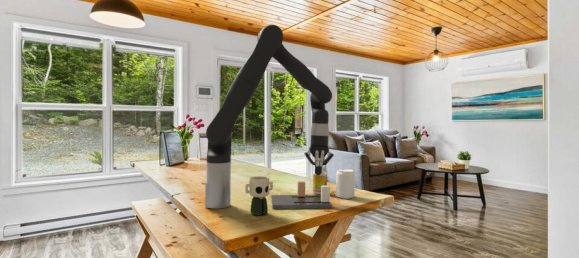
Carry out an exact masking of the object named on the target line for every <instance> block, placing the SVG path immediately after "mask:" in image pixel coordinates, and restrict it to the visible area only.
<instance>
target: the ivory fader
mask: <svg viewBox="0 0 579 258" xmlns="http://www.w3.org/2000/svg"><path fill="white" fill-rule="evenodd" d="M330 194H331V186H330V185H327V186H321V194H320V195H321V201H322V202H330V201H331V200H330V198H331V197H330V196H331V195H330ZM330 203H331V202H330Z"/></svg>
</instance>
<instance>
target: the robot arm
mask: <svg viewBox="0 0 579 258" xmlns="http://www.w3.org/2000/svg"><path fill="white" fill-rule="evenodd" d="M283 41H284V32H283V31H282V28H281V27H280V26H279V25H277V24H269V25H266V26H264V27H263V28H262V29H260V31H259V32H258V34H257V41H256V44H255V47H254V49H253V51H252V53H251V54H250V55H249V57H248V58H247V59H246V61H245V62H244V64H243V65H242V66H241V67H240V68H239V70H238V72H237V74H236V75H235V77H234V79H233V81H232V83H231V84H230V87H229V89H228V91H227V93H226V95H225V97H224V100H223V103H222V104H221V107H220V109H219V110H218V112H217V113H216V115H215V116H214V118H212V120H211V121H210V123H209V124H208V126H207V128H206V130H205V136H206V139H207V151H206V182H205V185H204V187H205V188H204V191H205V192H204V194H205V195H204V199H205V200H204V201H205V202H204V208H205V209H206V208H209V209H225V208H229V207H230V206H231V202H232V200H231V193H232V191H231V189H232V188H231V183H232V182H231V181H232V178H231V177H232V171H231V168H232V131H233V129H234V127H235V124H236V122H237V120H238V119H239V116H240V115H241V113H242V111H244V109H245V108H246V106H247V105H248V104H249V102H250V100H252V97H253V96H254V94H255V92H256V91H257V88H258V87H259V86H260V85H259V84H260V83H261V81H262V79H263V76H264V74H265V71H266V70H267V68H268V65H269V64H270V62H271V60H272V58H273V59H274V60H275V61H276V62H278V63H279V64H280V66H282V68H284V69H285V70H286V71H287V72H288V73H289V74H290V76H291V77H292V78H294V80H295V81H296V82H297V84H298V85H300V87H302V89H304V90H306V91H309V92H310V98H309V99H310V100H309V101H310V107H311V108H310V109H311V112H312V113H311V128H310V147H309V148H308V150H307V151H306V152H304V153H303V154H304V156H305V157H306V159H307V160H308V162H309V163H310V164H311V165H312V166H313V167H314V171H315V174H316V175H320V174H321V173H322V166H323V165H324V166H326V165H327V164H328V163H329V162H330V161H331V159H333V157H334V153H332V152H331V151H330V148H329V130H330V129H329V121H330V119H329V115H330V114H329V111H328V110H327V109H326V104H328V103H330V102H331V101H332V99H333V92H332V90H331V89H330V87H329V86H328V85H327V84H326V83H324V82H323V81H322V80H321V79H319V78H318V77H316V75H315V74H314V73H313V72H312V71H311V70H310V69H309V68H308V67H307V66H306V64H304V62H302V61H301V60H299V59H298V58H297V57H296V56H294V55H293V54H292V53H291V51H290V52H289V51H288V50H287V48H286V47H285V46H284V44H283ZM311 156H312V157H311ZM326 156H327V157H326ZM312 158H313V159H314V160H313V159H312ZM324 158H325V159H324ZM318 165H319V166H318Z"/></svg>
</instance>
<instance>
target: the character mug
mask: <svg viewBox="0 0 579 258" xmlns="http://www.w3.org/2000/svg"><path fill="white" fill-rule="evenodd" d="M248 182H249V183H246V184H245V185H244V188H245V191H244V192H245V194H249V196H251V197H252V198H251V203H250V213H251V214H252V215H256V216H258V215H259V216H260V215H262V214H263V215H266V214H268V212H269V211H268V210H269V209H268V208H269V207H268V200H267V197H268V196H269V194H270V191H273V189H274V188H273V187H274V182H273V181H270V177H269V176H263V175H257V176H251V177H249V181H248Z"/></svg>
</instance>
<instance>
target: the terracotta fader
mask: <svg viewBox="0 0 579 258" xmlns="http://www.w3.org/2000/svg"><path fill="white" fill-rule="evenodd" d="M296 195H298V197H305V195H306V181H305V180H298V181H297V193H296Z"/></svg>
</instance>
